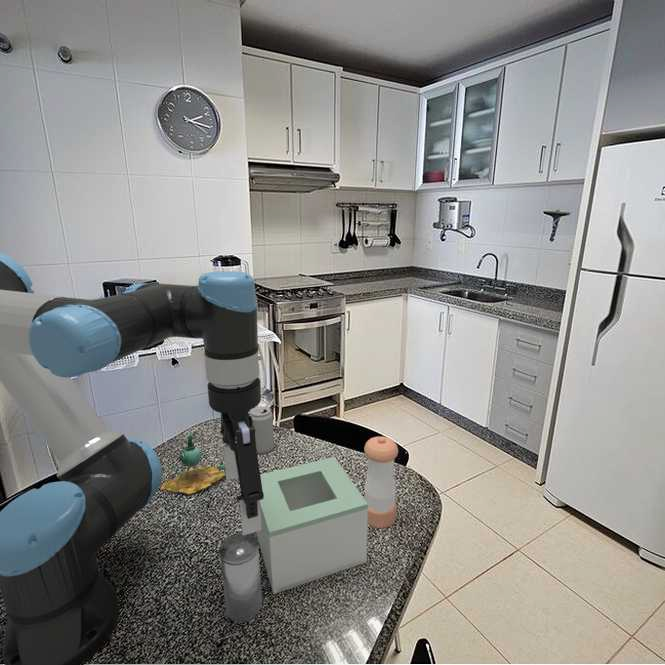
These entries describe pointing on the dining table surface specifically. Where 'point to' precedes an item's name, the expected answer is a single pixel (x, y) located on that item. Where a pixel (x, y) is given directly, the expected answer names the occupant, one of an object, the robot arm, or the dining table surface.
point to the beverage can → (263, 428)
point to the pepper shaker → (380, 481)
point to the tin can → (241, 576)
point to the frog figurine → (193, 472)
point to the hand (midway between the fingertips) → (242, 501)
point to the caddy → (311, 523)
